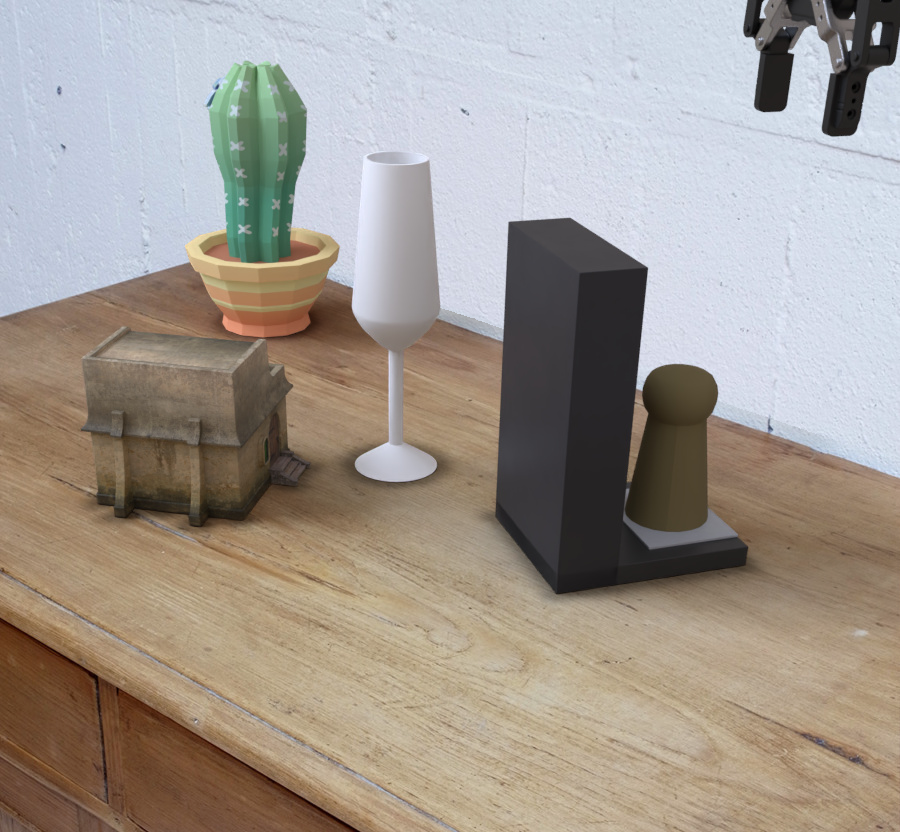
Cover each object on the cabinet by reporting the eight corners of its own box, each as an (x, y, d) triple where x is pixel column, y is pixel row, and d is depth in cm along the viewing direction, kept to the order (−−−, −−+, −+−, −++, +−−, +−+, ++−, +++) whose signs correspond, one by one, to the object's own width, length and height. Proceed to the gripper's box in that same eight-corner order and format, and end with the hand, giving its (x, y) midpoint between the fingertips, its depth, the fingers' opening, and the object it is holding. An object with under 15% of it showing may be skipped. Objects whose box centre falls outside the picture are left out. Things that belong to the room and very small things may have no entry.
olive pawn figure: (640, 488, 99) (654, 349, 94) (717, 505, 97) (737, 363, 92) (612, 520, 95) (626, 375, 89) (693, 539, 92) (713, 392, 87)
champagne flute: (371, 442, 110) (369, 144, 98) (448, 454, 108) (455, 152, 96) (341, 474, 104) (334, 163, 92) (421, 487, 103) (425, 171, 90)
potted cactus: (342, 299, 143) (336, 52, 130) (341, 348, 129) (335, 78, 117) (198, 299, 142) (179, 50, 129) (182, 348, 128) (159, 76, 116)
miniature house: (263, 534, 95) (254, 385, 89) (82, 512, 98) (62, 366, 92) (321, 451, 108) (317, 316, 102) (160, 434, 110) (147, 301, 104)
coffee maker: (669, 493, 103) (702, 208, 91) (745, 565, 93) (794, 256, 82) (495, 516, 98) (508, 221, 87) (556, 594, 89) (579, 272, 78)
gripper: (972, -155, 74) (914, 142, 83) (833, -160, 86) (794, 101, 94) (858, -158, 72) (811, 147, 80) (731, -162, 84) (701, 105, 92)
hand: (802, 122), depth 87 cm, fingers open, 8 cm apart
